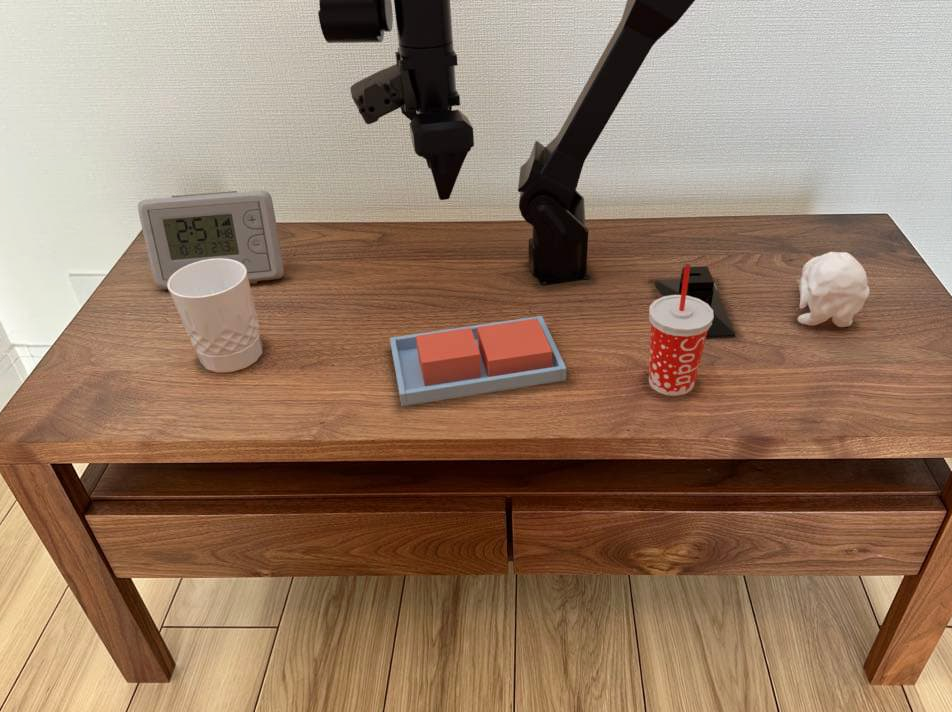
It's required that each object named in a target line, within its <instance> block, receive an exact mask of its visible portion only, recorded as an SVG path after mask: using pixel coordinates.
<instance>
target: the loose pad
mask: <svg viewBox="0 0 952 712" xmlns="http://www.w3.org/2000/svg"><path fill="white" fill-rule="evenodd" d="M416 343H417V351H418V358H419V363H420V367H421V372H422V376H423V381H424V385H425V386H427V385H434V384H440V383H446V382H453V381H459V380H466V379H472V378H478V377H481V363H480V353H479V350H478V347H477V344H476V341H475V338H474V335H473V332H472V329H471V328H467V329H460V330H453V331H446V332H439V333H433V334H426V335H419V336H416Z"/></svg>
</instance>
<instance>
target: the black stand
mask: <svg viewBox="0 0 952 712" xmlns="http://www.w3.org/2000/svg"><path fill="white" fill-rule="evenodd" d="M684 271H685V266H683V267H682V269H681V273H680V277H679V278H672V279H671V278H670V279H669V278H668V279H655V281H654V284H655V287H656V290H657V291H658V293H659V294H660V295H661V296H662V297H664V296H670V295H681V292H682V285H683V278H684ZM686 296H691V297H694V298H698V299H700V300H702V301H704V302H705V303H707V304H708V305H709V306H710V307H711V308H712V310H713V316H714V318H713V321H712V325H711V326H710V328H709V329H708V332H707V336H706V339H722V338H723V339H724V338H725V339H726V338H736V335H737V333H736V331H735V329H734V327H733V324H732V322H731V320H730V317H729V315H728V313H727V311H726V308H725V306H724V304H723V301H722V299H721V296H720V295H719V292H718V288H717V285H716V283H715V280H714V279H713V276H712V274H711V272H710V269H709V267H708V265H707V266H706V265H703V266H702V265H701V266H690V273H689V279H688V286H687V293H686Z"/></svg>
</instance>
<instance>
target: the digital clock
mask: <svg viewBox="0 0 952 712" xmlns="http://www.w3.org/2000/svg"><path fill="white" fill-rule="evenodd" d="M137 211H138V216H139V220H140V225H141V230H142V235H143V238H144V242H145V247H146V251H147V256H148V260H149V264H150V269H151V273H152V278H153V281H154V284H155V286H156V287H157V288H159V289H161V290H169V289H168V287H167V283H168V280H169V278H170V277H171V276H172V275H173V274H174V273H175V272H176V271H177V270H179V269H181V268H182V267H184V266H187V265H189V264H192V263H194V262H198V261H202V260H207V259H216V258H224V259H232V260H235V261H238V262H240V263H242V264H243V265H244V266H245V267H246V270H247V274H248V278H249V283H250V285H253V284H258V282H260V281H271V280H278V279H281V278H282V277H284V274H285V268H284V267H285V266H284V261H283V255H282V249H281V243H280V237H279V232H278V226H277V219H276V214H275V208H274V203H273V198H272V195H271V193H270V192H269V191H267V190H249V191H237V190H230V191H218V192H217V191H216V192H204V193H192V194H178V195H171V197H159V198H148V199H143V200H140V201H139V202H138V204H137Z"/></svg>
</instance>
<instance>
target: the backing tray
mask: <svg viewBox="0 0 952 712" xmlns="http://www.w3.org/2000/svg"><path fill="white" fill-rule="evenodd" d="M530 319H538V321H539V323H540V325H541V328H542V330H543V332H544V334H545V336H546V338H547V341H548V343H549V345H550V347H551V349H552V367H550V368H544V369H538V370H531V371H525V372H518V373H512V374H505V375H499V376H493V377H488V375H487V372H486V369H485V366H484V363H483V360H482V357H481V354H480V363H481V377H478V378H472V379H466V380H459V381H453V382H446V383H440V384H434V385H427V386H425V385H424V381H423V376H422V372H421V367H420V363H419V358H418V351H417V343H416V336H419V335H426V334H433V333H439V332H446V331H453V330H460V329H467V328H471V329H472V332H473V335H474V338H475V341H476V344H477V347H478V340H477V327H482V326H489V325H496V324H503V323H509V322H516V321H523V320H530ZM389 343H390V349H391V356H392V360H393V366H394V372H395V377H396V385H397V389H398V394H399V400H400V406H401V407H406V406H413V405H420V404H425V403H431V402H437V401H444V400H450V399H456V398H463V397H468V396H475V395H481V394H488V393H494V392H500V391H507V390H513V389H514V390H515V389H520V388H527V387H531V386H533V387H534V386H539V385H544V384H545V385H546V384H552V383H557V382H563V381H567V369H568V368H567V366H566V364H565V362H564V360H563V358H562V356H561V353H560V351H559V349H558V347H557V345H556V343H555V340H554V339H553V337H552V334H551V332H550V331H549V328H548V326H547V324H546V322H545V319H544V318H543V316H542V315H537V316H531V317H524V318H516V319H509V320H501V321H495V322H490V323H489V322H488V323H481V324H475V325H468V326H461V327H453V328H448V329H447V328H446V329H440V330H434V331H427V332H426V331H425V332H420V333H413V334H406V335H399V336H392V337H389ZM478 350H479V348H478ZM479 353H480V351H479Z"/></svg>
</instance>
